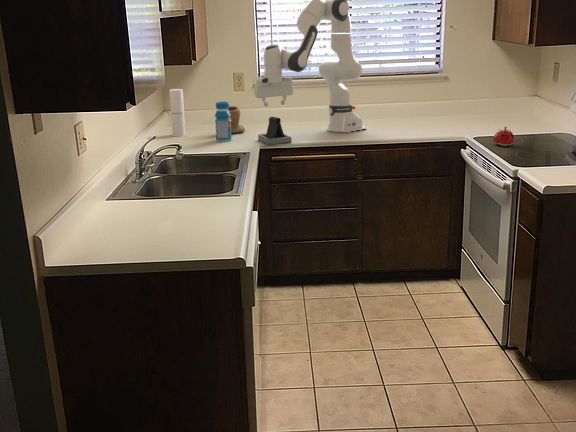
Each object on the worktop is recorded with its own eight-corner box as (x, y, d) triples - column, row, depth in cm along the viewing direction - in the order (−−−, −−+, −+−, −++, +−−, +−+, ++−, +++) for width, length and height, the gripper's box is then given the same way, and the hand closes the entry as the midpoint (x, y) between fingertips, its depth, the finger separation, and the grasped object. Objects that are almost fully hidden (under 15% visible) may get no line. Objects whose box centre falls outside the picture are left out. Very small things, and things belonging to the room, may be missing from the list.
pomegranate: (488, 145, 320) (489, 126, 318) (504, 143, 324) (506, 124, 321) (501, 148, 312) (503, 129, 309) (518, 146, 315) (519, 127, 312)
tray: (281, 137, 343) (280, 132, 342) (291, 142, 331) (291, 136, 330) (258, 140, 338) (258, 134, 338) (268, 145, 326) (267, 139, 325)
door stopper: (272, 142, 330) (271, 119, 326) (264, 140, 334) (264, 117, 330) (285, 139, 335) (285, 117, 331) (278, 138, 340) (277, 115, 336)
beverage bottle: (220, 142, 334) (218, 104, 328) (213, 139, 341) (211, 102, 334) (234, 140, 338) (233, 102, 332) (227, 138, 345) (225, 100, 339)
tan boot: (226, 136, 350) (224, 109, 345) (216, 133, 359) (215, 106, 355) (250, 133, 357) (249, 106, 353) (240, 130, 367) (239, 103, 362)
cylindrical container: (170, 135, 354) (166, 89, 346) (180, 133, 359) (177, 88, 351) (178, 137, 350) (174, 90, 342) (188, 135, 355) (185, 89, 347)
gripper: (289, 75, 331) (290, 102, 336) (252, 78, 324) (253, 106, 328) (294, 77, 326) (295, 104, 330) (257, 80, 318) (258, 108, 323)
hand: (274, 105), depth 329 cm, fingers open, 8 cm apart
